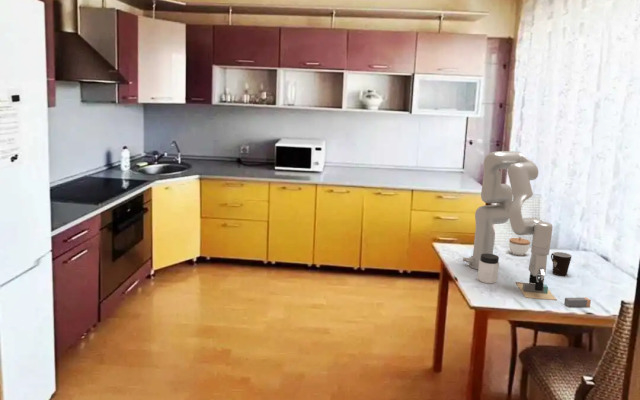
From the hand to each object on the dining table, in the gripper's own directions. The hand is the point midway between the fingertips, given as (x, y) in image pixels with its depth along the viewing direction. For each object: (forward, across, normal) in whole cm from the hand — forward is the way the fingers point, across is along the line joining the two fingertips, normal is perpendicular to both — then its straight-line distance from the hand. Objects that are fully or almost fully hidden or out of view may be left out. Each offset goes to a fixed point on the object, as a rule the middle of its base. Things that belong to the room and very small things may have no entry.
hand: (535, 286), depth 255 cm
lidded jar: (+3, -62, +7) cm, 62 cm away
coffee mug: (+3, -32, +20) cm, 38 cm away
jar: (+3, -11, -19) cm, 22 cm away
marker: (+2, 0, 0) cm, 2 cm away
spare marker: (+3, +13, +14) cm, 19 cm away
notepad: (+2, -1, 0) cm, 3 cm away
